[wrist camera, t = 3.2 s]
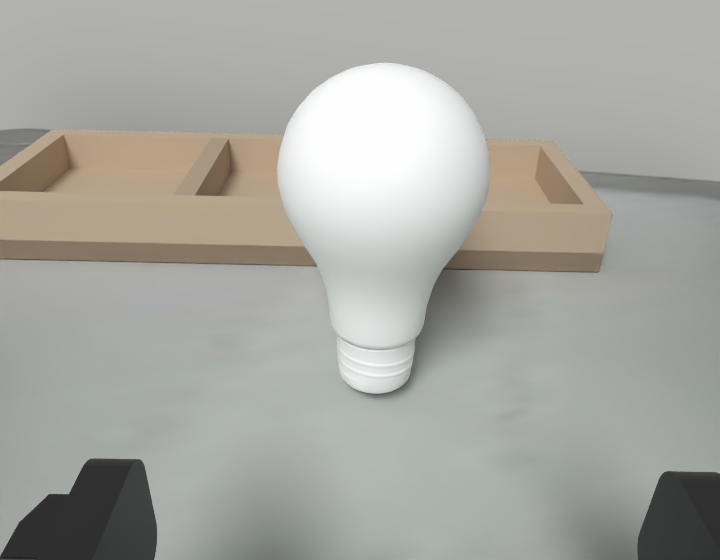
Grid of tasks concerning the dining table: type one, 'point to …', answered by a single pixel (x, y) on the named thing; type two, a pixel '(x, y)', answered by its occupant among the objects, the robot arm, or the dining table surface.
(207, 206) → the wooden compartment tray
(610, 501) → the dining table surface
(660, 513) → the robot arm
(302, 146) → the lightbulb
